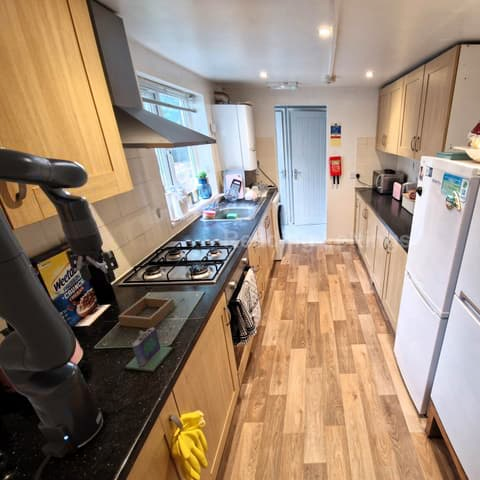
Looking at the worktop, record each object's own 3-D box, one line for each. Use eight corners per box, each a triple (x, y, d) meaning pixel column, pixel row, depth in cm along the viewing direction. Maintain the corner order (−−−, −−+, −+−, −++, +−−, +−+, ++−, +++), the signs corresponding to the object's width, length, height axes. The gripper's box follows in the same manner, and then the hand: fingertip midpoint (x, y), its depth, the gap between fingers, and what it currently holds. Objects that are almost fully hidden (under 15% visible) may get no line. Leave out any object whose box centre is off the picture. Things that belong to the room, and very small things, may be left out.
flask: (143, 367, 87) (135, 342, 83) (135, 366, 87) (126, 341, 83) (162, 346, 95) (156, 322, 91) (155, 346, 96) (148, 322, 92)
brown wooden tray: (152, 328, 106) (150, 319, 104) (120, 325, 107) (117, 316, 106) (175, 307, 119) (173, 298, 117) (146, 304, 120) (143, 296, 119)
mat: (153, 371, 86) (152, 369, 86) (125, 368, 88) (125, 366, 87) (172, 348, 96) (172, 347, 95) (147, 346, 97) (147, 344, 96)
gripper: (47, 236, 74) (68, 285, 80) (91, 238, 72) (109, 289, 78) (73, 227, 81) (91, 273, 87) (115, 229, 79) (129, 276, 85)
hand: (99, 280), depth 83 cm, fingers open, 8 cm apart
